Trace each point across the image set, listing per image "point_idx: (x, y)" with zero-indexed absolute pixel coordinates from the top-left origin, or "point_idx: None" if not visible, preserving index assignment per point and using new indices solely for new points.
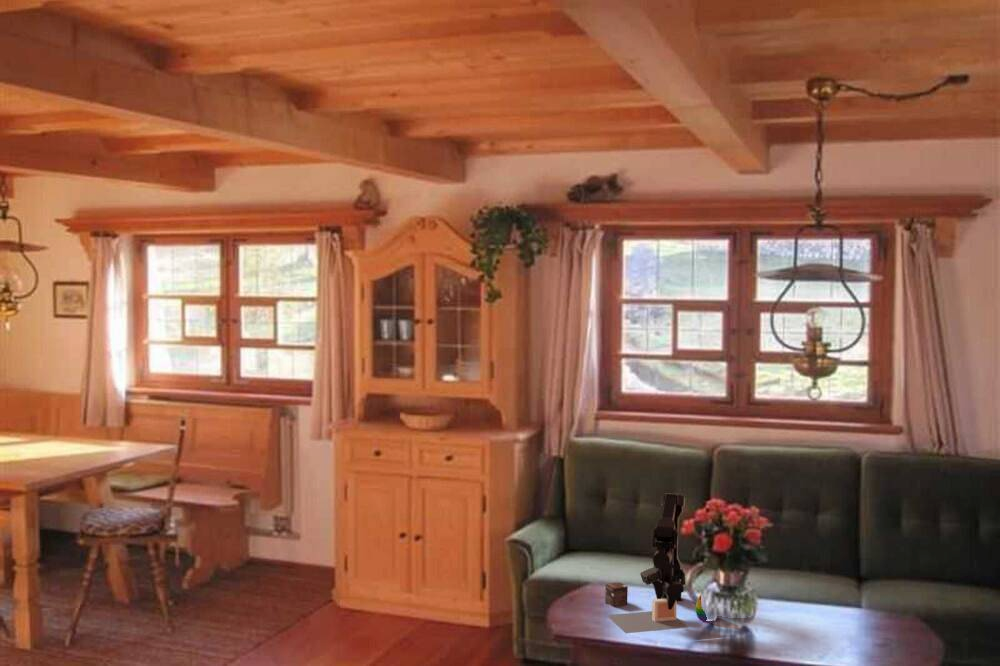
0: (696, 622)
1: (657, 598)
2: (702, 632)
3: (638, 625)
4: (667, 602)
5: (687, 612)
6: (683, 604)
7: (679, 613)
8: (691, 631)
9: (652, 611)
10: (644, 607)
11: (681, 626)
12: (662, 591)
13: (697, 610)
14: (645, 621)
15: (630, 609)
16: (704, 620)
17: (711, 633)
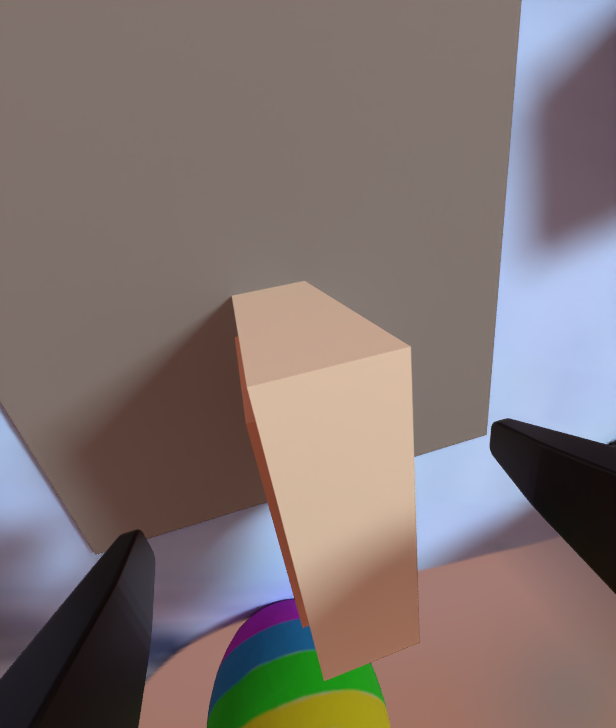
0: (242, 585)
1: (520, 435)
2: (14, 624)
3: (70, 18)
4: (64, 649)
5: (424, 540)
6: (543, 523)
7: (419, 499)
8: (21, 562)
9: (322, 298)
10: (595, 283)
11: (108, 507)
12: (614, 578)
13: (272, 681)
14: (239, 184)
15: (609, 134)
16: (233, 640)
17: (4, 669)
